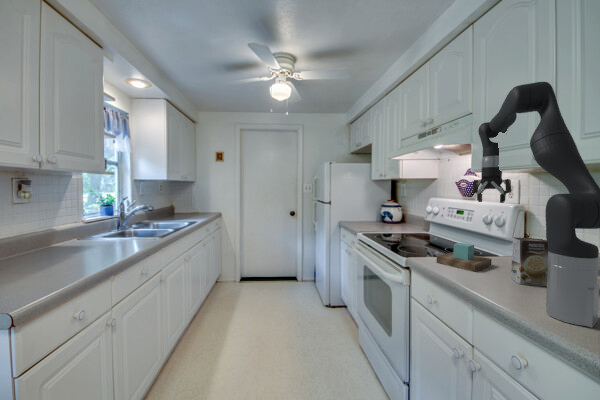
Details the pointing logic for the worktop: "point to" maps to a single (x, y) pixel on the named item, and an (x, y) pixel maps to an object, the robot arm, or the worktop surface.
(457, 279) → the worktop surface
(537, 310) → the worktop surface
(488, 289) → the worktop surface
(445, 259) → the walnut stand
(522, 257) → the coffee box
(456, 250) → the teal cube
